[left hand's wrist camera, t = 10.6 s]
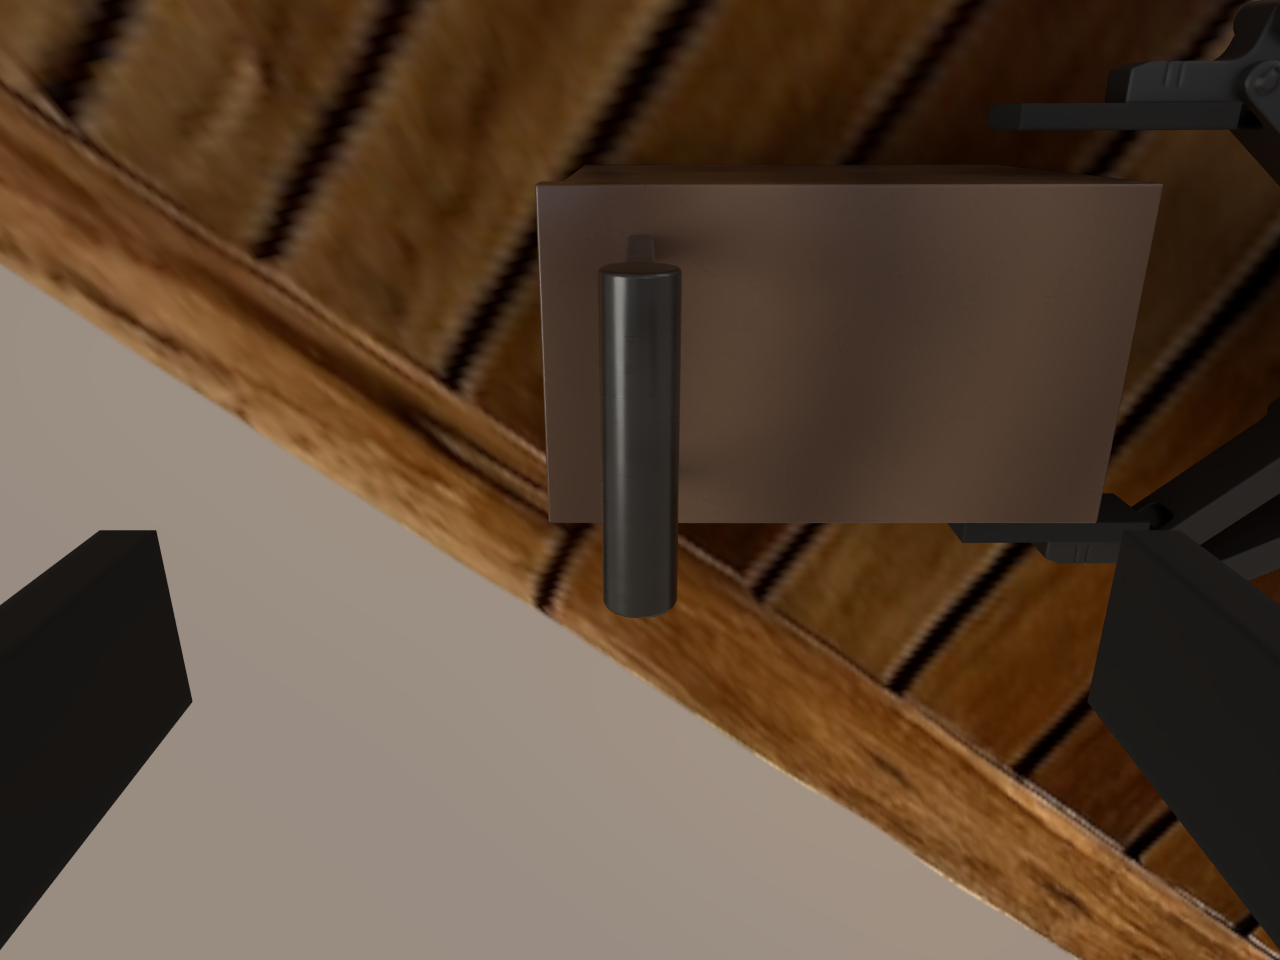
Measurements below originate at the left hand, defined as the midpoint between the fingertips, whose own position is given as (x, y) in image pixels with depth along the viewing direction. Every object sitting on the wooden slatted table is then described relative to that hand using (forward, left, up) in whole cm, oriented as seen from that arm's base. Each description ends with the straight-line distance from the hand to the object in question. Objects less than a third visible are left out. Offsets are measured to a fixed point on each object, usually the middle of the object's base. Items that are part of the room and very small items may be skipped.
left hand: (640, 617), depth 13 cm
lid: (-3, +5, -15) cm, 16 cm away
